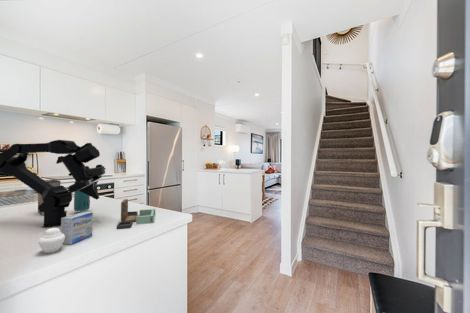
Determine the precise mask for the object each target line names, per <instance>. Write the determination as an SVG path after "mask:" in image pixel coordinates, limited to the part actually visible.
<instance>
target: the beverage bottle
mask: <svg viewBox="0 0 470 313" xmlns="http://www.w3.org/2000/svg"><path fill="white" fill-rule="evenodd" d="M75 182H76V181H75V180H74V182H73V184H75ZM79 190H80V189H79ZM79 190H77V191H75V192H73V193H74V196H73V210H74V211H75V212H86V211H88V210H90V205H91V200H90V198H91V196H89V195H87V194H85V193H83V192H80V191H79Z"/></svg>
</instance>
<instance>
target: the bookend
mask: <svg viewBox="0 0 470 313" xmlns="http://www.w3.org/2000/svg"><path fill="white" fill-rule="evenodd" d="M128 209H129V199H128V198H127V199H126V198H125V199H122V201H121V202H120V222H129V221H133V224H134V223H135V222H136V217H137V216H150V215H140V214H139V215H138V214H137V215H135V216H128V212H129V210H128Z"/></svg>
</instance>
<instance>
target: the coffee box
mask: <svg viewBox="0 0 470 313" xmlns="http://www.w3.org/2000/svg"><path fill="white" fill-rule="evenodd" d="M44 180H45V181H46V182H48V183H49V184H50V185H52V186H54V187H55V186H61V180H57V179H54V178H53V179H44ZM42 203H43V200H42V196H41V195H40V194H39V193H38V192H37V214H39V215H41V216H42V217H44V212H40V211H39V208H38V207H39V206H40V205H41V204H42Z"/></svg>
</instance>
